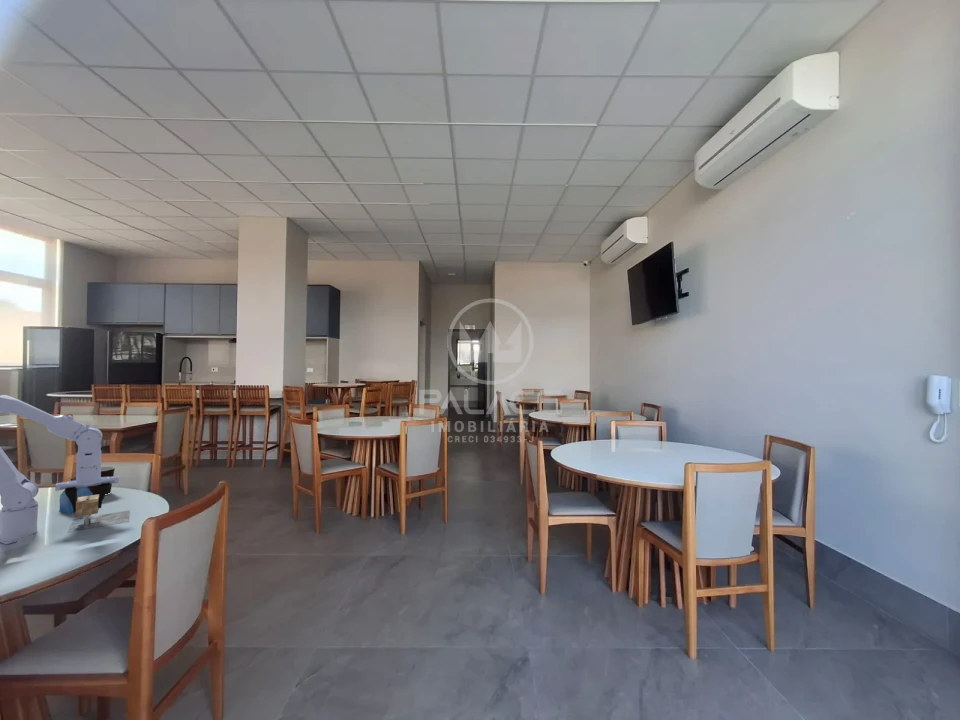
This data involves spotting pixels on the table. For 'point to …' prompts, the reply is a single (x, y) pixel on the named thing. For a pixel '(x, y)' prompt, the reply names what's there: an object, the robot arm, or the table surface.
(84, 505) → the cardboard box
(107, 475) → the coffee mug
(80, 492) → the perfume bottle
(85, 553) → the table surface
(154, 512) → the table surface
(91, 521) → the hub plate
